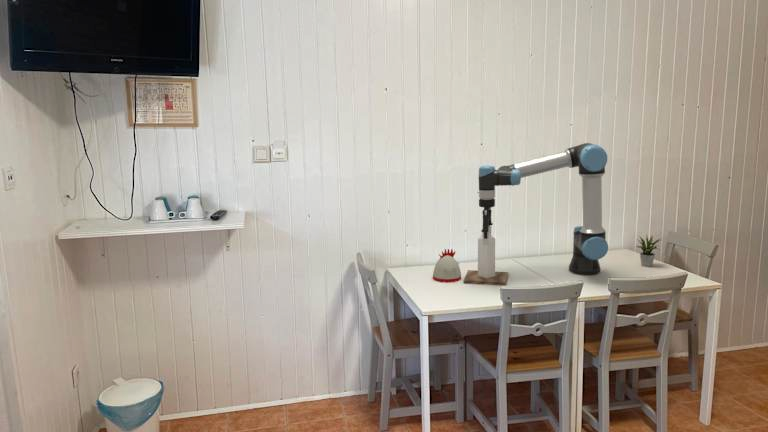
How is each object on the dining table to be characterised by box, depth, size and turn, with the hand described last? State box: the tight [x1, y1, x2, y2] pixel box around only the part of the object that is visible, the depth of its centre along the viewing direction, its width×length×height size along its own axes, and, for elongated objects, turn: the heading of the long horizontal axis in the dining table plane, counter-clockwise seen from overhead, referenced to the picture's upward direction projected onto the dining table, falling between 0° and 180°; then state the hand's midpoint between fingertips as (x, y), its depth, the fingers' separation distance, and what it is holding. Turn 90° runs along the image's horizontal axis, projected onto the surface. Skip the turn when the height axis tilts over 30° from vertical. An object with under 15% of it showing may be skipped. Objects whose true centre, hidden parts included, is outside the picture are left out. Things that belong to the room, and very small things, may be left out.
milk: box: [477, 232, 496, 278], centre depth 302 cm, size 6×6×22 cm
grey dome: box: [432, 248, 462, 283], centre depth 306 cm, size 14×14×15 cm
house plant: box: [635, 234, 663, 268], centre depth 318 cm, size 14×14×16 cm
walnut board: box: [462, 269, 509, 286], centre depth 304 cm, size 20×18×2 cm
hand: (487, 241), depth 301 cm, fingers open, 13 cm apart
